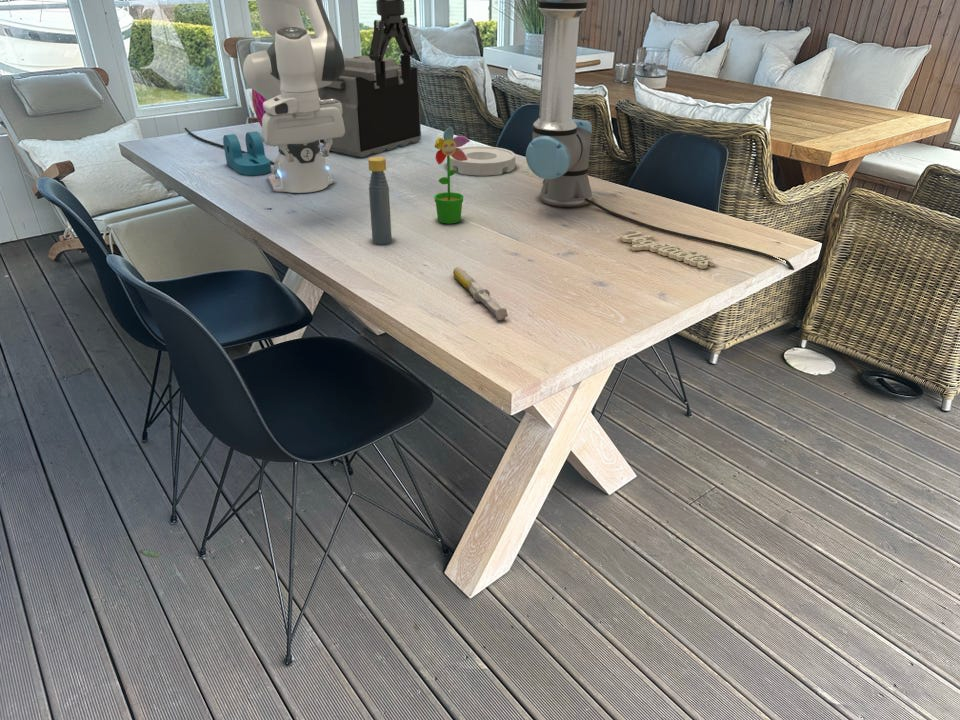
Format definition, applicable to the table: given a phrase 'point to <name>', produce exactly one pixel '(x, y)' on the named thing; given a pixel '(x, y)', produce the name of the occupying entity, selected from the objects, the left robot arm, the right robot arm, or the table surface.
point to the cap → (377, 163)
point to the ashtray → (484, 161)
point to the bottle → (380, 208)
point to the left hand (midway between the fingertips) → (308, 158)
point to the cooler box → (374, 108)
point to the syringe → (479, 293)
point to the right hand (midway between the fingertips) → (394, 83)
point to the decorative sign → (666, 249)
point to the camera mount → (246, 154)
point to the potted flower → (449, 201)
